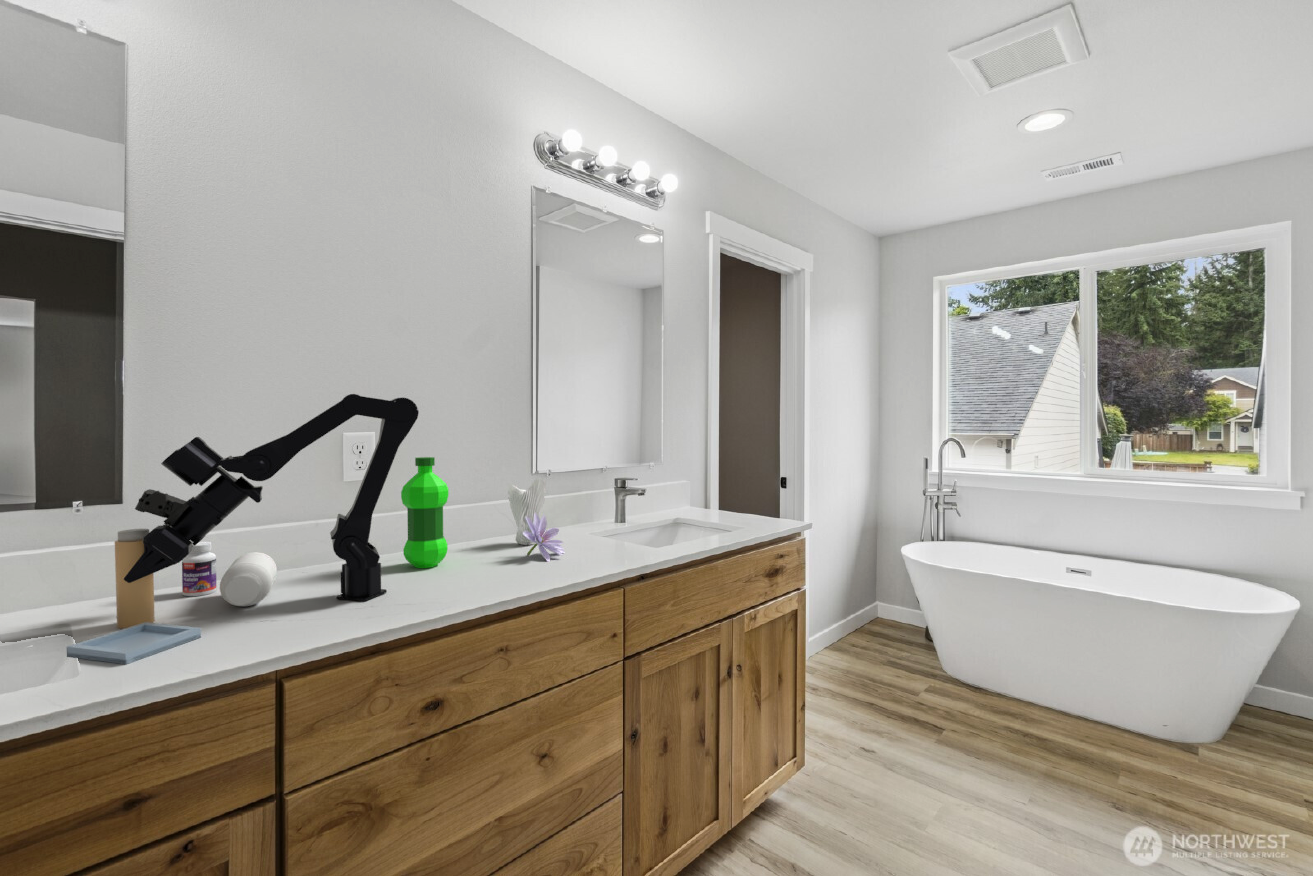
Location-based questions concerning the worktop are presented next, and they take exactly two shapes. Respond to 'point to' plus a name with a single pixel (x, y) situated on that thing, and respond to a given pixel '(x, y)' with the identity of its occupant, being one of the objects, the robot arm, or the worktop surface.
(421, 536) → the plastic bottle
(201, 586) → the pill bottle
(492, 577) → the worktop surface
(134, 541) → the cylinder
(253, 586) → the pill bottle
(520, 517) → the shell sculpture
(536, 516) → the water lily
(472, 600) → the worktop surface
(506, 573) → the worktop surface
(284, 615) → the worktop surface
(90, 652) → the tray
